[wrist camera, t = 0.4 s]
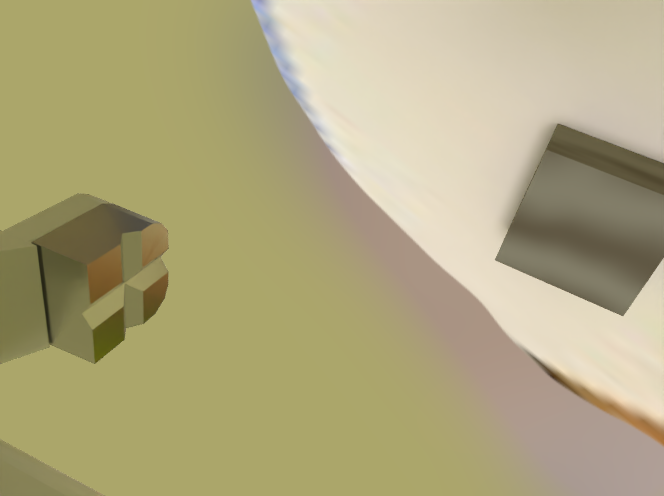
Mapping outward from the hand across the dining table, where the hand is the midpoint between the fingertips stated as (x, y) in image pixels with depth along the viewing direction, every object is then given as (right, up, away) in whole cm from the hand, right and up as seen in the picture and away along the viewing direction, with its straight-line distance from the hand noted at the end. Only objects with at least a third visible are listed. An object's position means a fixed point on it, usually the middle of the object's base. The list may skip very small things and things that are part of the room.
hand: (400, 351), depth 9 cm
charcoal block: (+19, +5, +39) cm, 44 cm away
